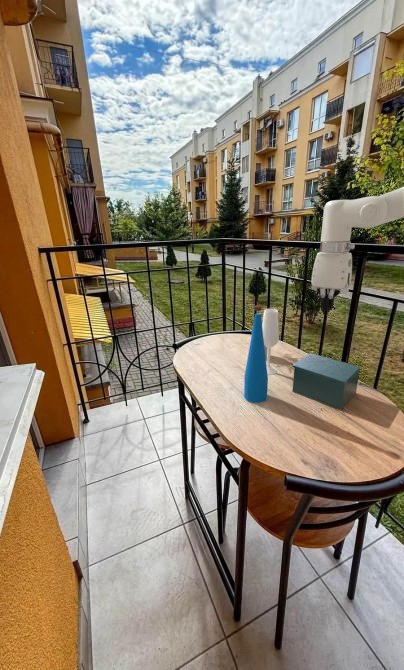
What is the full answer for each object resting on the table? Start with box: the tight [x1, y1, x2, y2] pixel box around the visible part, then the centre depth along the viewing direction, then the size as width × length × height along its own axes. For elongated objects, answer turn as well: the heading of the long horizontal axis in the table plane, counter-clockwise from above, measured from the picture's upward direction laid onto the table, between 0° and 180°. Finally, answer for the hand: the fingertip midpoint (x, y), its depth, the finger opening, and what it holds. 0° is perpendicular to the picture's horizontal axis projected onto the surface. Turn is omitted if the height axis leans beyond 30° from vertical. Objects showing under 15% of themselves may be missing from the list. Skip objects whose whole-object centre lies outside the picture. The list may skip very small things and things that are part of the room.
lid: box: [291, 352, 361, 384], centre depth 89 cm, size 16×13×1 cm
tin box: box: [291, 368, 361, 411], centre depth 91 cm, size 16×13×9 cm
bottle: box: [243, 304, 269, 404], centre depth 86 cm, size 7×7×30 cm
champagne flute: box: [262, 308, 280, 376], centre depth 104 cm, size 7×7×24 cm
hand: (326, 310), depth 86 cm, fingers closed
